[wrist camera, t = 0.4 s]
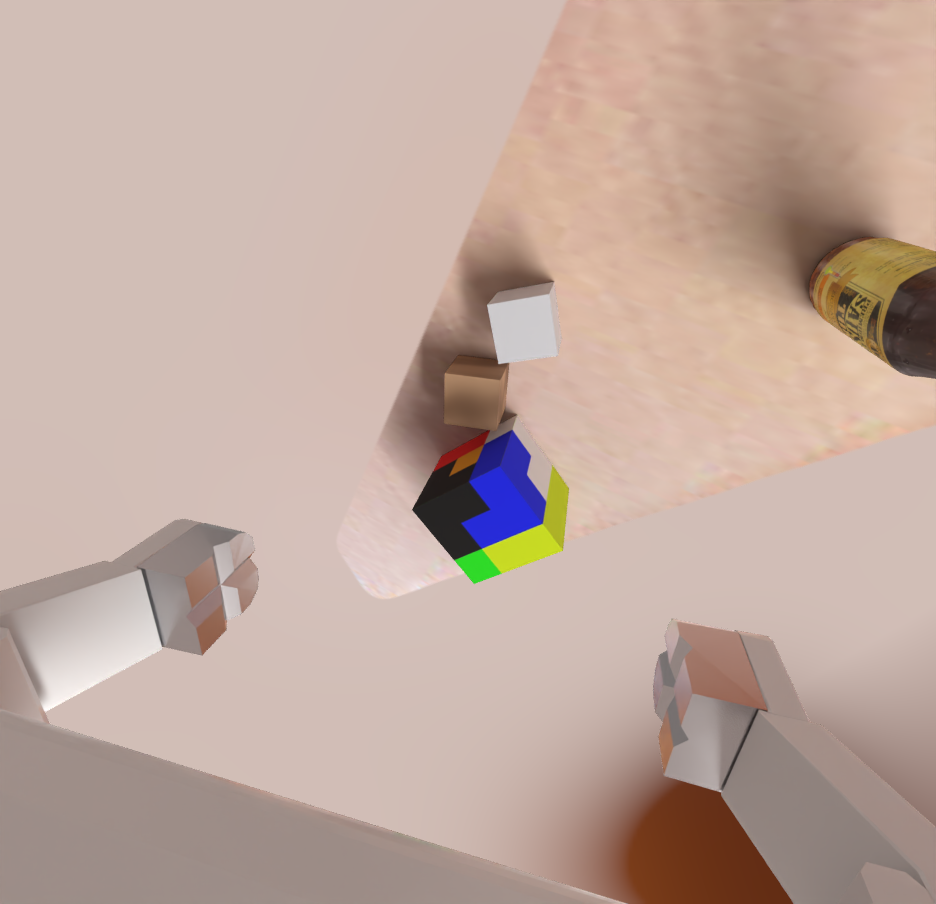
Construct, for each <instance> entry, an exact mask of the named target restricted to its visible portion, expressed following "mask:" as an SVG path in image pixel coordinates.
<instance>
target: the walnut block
mask: <svg viewBox="0 0 936 904" xmlns="http://www.w3.org/2000/svg"><path fill="white" fill-rule="evenodd" d="M508 370H509V363H502V364H498V360H495V359H487V358H478V357H470V356H462V355H458V356H457V357H456V359H455V360H454V361H453V363H452V364H451V365H450V367H449V368H448V369H447V371H446V372H445V379H444V424H450V425H457V426H464V427H471V428H478V429H485V430H492V431H497V428H498V426H499V423H500V421H501V418H502V416H503V413H504V410H505V404H506V393H507V382H508Z"/></svg>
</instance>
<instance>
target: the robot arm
mask: <svg viewBox="0 0 936 904" xmlns="http://www.w3.org/2000/svg"><path fill="white" fill-rule="evenodd" d="M254 551H255V548H254V543H253V538H252V536H250V535H249V534H247V533H246V532H242V531H237V530H233V529H228V528H224V527H220V526H215V525H211V524H206V523H201V522H196V521H192V520H187V519H180V520H175V521H173V522H172V523H170V524H168V525H167V526H166V527H164V528H162V529H161V530H159V531H158V532H156V533H155V534H153V535H152V536H150V537H149V538H147V539H146V540H144V541H143V542H141V543H140V544H138V545H137V546H135V547H134V548H132V549H130V550H129V551H128V552H126V553H124V554H123V555H121V556H120V557H118V558H117V559H115V560H114V561H113V562H107V561H102V562H99V563H96V564H92V565H89V566H85V567H82V568H78V569H75V570H72V571H68V572H64V573H61V574H57V575H54V576H51V577H47V578H44V579H40V580H37V581H34V582H30V583H27V584H23V585H20V586H16V587H13V588H9V589H6V590H3V591H0V904H627V903H623V902H620V901H617V900H614V899H611V898H607V897H604V896H601V895H598V894H594V893H591V892H588V891H585V890H581V889H578V888H575V887H572V886H568V885H566V884H562V883H559V882H556V881H553V880H549V879H546V878H543V877H540V876H536V875H533V874H530V873H527V872H523V871H520V870H517V869H514V868H511V867H507V866H504V865H501V864H498V863H495V862H491V861H488V860H485V859H482V858H479V857H475V856H472V855H469V854H466V853H462V852H459V851H456V850H453V849H449V848H446V847H443V846H440V845H437V844H434V843H430V842H427V841H424V840H420V839H417V838H414V837H411V836H408V835H404V834H401V833H398V832H395V831H392V830H388V829H385V828H382V827H379V826H376V825H372V824H369V823H366V822H363V821H359V820H356V819H353V818H350V817H346V816H343V815H340V814H337V813H334V812H330V811H327V810H324V809H321V808H317V807H314V806H311V805H308V804H305V803H301V802H298V801H295V800H292V799H289V798H285V797H282V796H279V795H276V794H273V793H269V792H266V791H263V790H260V789H256V788H253V787H250V786H247V785H244V784H240V783H237V782H234V781H230V780H227V779H224V778H221V777H217V776H215V775H212V774H208V773H205V772H202V771H199V770H195V769H192V768H189V767H185V766H183V765H179V764H176V763H173V762H170V761H167V760H163V759H160V758H157V757H154V756H150V755H147V754H144V753H141V752H138V751H134V750H131V749H128V748H125V747H121V746H118V745H115V744H112V743H109V742H105V741H102V740H99V739H96V738H93V737H90V736H86V735H83V734H80V733H76V732H73V731H70V730H67V729H64V728H61V727H57V726H54V725H51V724H50V723H49V721H48V719H47V716H46V714H45V712H46V711H48V710H49V709H51V708H53V707H55V706H57V705H59V704H61V703H62V702H64V701H66V700H68V699H70V698H72V697H74V696H76V695H77V694H79V693H81V692H83V691H85V690H86V689H89V688H90V687H92V686H94V685H96V684H98V683H100V682H102V681H103V680H105V679H107V678H109V677H111V676H113V675H115V674H116V673H118V672H120V671H122V670H124V669H126V668H128V667H130V666H132V665H133V664H135V663H137V662H139V661H141V660H143V659H144V658H146V657H148V656H150V655H152V654H154V653H156V652H158V651H159V650H161V649H162V647H167V648H171V649H176V650H180V651H184V652H189V653H194V654H198V655H203V654H204V653H205V652H206V651H207V650H208V649H209V648H210V647H211V646H212V644H214V643H215V642H216V640H217V639H218V638H219V637H220V636H221V635H222V634H223V633H224V632H225V631H226V629H227V620H229V619H231V618H233V617H236V616H238V615H240V614H242V613H243V612H244V611H245V610H246V609H247V607H248V606H249V605H250V604H251V602H252V600H253V598H254V596H255V594H256V592H257V589H258V581H259V576H258V568H257V567H256V566H255V564H254V563H253V562H252V560H251V559H250V557H251V555H252V554H253V553H254ZM665 641H666V647H667V651H665V652H663V653H662V654H660V655H659V657H658V661H657V664H656V668H655V675H654V684H653V696H654V697H653V698H654V707H655V713H656V714H657V715H658V716H659V718H660V719H661V720H662V722H663V723H662V726H661V729H660V732H659V736H658V738H659V745H660V752H661V760H662V767H663V773H664V776H667V777H670V778H674V779H677V780H681V781H684V782H688V783H691V784H695V785H698V786H701V787H705V788H709V789H712V790H716V791H719V792H722V794H721V796H722V797H723V799H724V800H725V802H726V803H727V805H728V806H729V807H730V809H731V811H732V812H733V814H734V815H735V817H736V818H737V819H738V821H739V823H740V824H741V826H742V827H743V828H744V830H745V832H746V833H747V834H748V836H749V837H750V839H751V840H752V842H753V843H754V845H755V846H756V848H757V849H758V851H759V852H760V854H761V855H762V857H763V858H764V860H765V861H766V863H767V864H768V866H769V867H770V869H771V870H772V872H773V873H774V875H775V876H776V877H777V879H778V880H779V882H780V884H781V885H782V887H783V888H784V890H785V891H786V893H787V894H788V895H789V897H790V898H791V900H792V901H793V903H794V904H936V827H935V826H934V825H933V824H932V823H930V821H928V820H927V819H926V818H925V817H924V816H923V815H922V814H921V813H919V812H918V811H917V810H916V809H915V808H914V807H913V806H912V805H910V804H909V803H908V802H907V801H906V800H905V799H904V798H903V797H902V796H900V795H899V794H898V793H897V792H896V791H895V790H894V789H893V788H892V787H890V786H889V785H888V784H887V783H886V782H885V781H884V780H883V779H882V778H880V777H879V776H878V775H877V774H876V773H875V772H874V771H873V770H871V769H870V768H869V767H868V766H867V765H866V764H865V763H864V762H862V761H861V760H860V759H859V758H858V757H857V756H856V755H855V754H854V753H852V752H851V751H850V750H849V749H848V748H847V747H846V746H845V745H843V744H842V743H841V742H840V741H839V740H838V739H837V738H836V737H835V736H833V735H832V734H831V733H830V732H829V731H828V730H827V729H826V728H824V727H823V726H822V725H821V724H817V723H813V722H810V720H809V718H808V716H807V714H806V712H805V709H804V707H803V705H802V703H801V701H800V699H799V697H798V694H797V692H796V690H795V688H794V686H793V683H792V681H791V679H790V677H789V675H788V673H787V670H786V668H785V666H784V664H783V662H782V660H781V658H780V655H779V653H778V651H777V649H776V647H775V645H774V642H773V641H772V640H771V639H770V638H769V637H768V636H764V635H759V634H753V633H748V632H742V631H736V630H735V631H732V630H727V629H722V628H717V627H712V626H706V625H702V624H696V623H691V622H686V621H681V620H676V619H672V620H671V621H670V623H669V624H668V627H667V630H666V633H665Z"/></svg>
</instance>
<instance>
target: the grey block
mask: <svg viewBox="0 0 936 904" xmlns="http://www.w3.org/2000/svg"><path fill="white" fill-rule="evenodd" d="M487 307H488V312H489V318H490V323H491V328H492V333H493V338H494V343H495V348H496V354H497V359H498V364H502V363H510V362H517V361H524V360H532V359H539V358H547V357H554V356H558V353H559V348H560V344H561V339H562V337H561V329H560V321H559V314H558V306H557V298H556V291H555V283H554V282H549V283H544V284H538V285H533V286H527V287H522V288H516V289H511V290H505V291H500V292H497V293H496V295H495V296H494V297H493V298H492V300H491V301H490V302H489V303H488V304H487Z"/></svg>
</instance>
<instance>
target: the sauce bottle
mask: <svg viewBox="0 0 936 904" xmlns="http://www.w3.org/2000/svg"><path fill="white" fill-rule="evenodd" d="M809 287H810V290H809V291H810V293H809V294H810V300H811V301H812V304H813V307H814V308H815V309H816V310H817V312H818V313H819V315H820V316H821V317H822V318H823V319H824V320H825V321H827V322H828V323H830V324H831V325H833V326H834V327H835V328H837V329H838V330H840V331H841V332H842V333H844V334H845V335H847V336H848V337H850V338H851V339H852V340H854V341H855V342H857V343H858V344H860V345H861V346H862V347H864V348H865V349H866V350H868V351H869V352H871V353H872V354H874V355H875V356H877V357H878V358H880V359H881V360H882V361H884V362H885V363H887V364H888V365H889V366H891V367H892V368H894V369H895V370H897V371H899V372H900V373H902V374H905V375H908V376H917V377H927V378H935V379H936V251H932V250H929V249H925V248H922V247H919V246H915V245H912V244H908V243H905V242H901V241H898V240H894V239H890V238H874V237H863V238H860V239H856V240H852V241H850V242H847V243H844V244H842V245H840V246H839V247H837V248H836V249H834V250H832V251H831V252H830V253H828V254H827V255H826V256H825V257H824V258H823V259H822V260H821V261H820V262H819V264H818V265H817V267H816V269H815V270H814V272H813V274H812V276H811V280H810V286H809Z"/></svg>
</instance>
